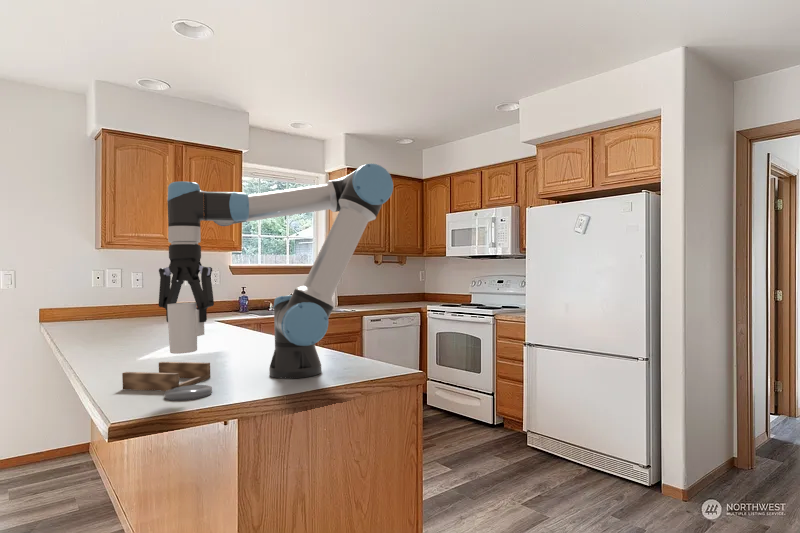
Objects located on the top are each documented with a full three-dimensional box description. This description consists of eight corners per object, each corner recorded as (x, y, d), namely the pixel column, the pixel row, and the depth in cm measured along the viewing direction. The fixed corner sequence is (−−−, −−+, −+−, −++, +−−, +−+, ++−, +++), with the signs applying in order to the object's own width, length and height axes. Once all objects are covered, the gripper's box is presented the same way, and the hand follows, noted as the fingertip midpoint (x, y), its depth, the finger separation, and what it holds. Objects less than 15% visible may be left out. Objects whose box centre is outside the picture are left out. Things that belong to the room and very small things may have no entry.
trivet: (220, 390, 133) (220, 385, 133) (195, 401, 122) (194, 396, 122) (183, 388, 135) (183, 384, 135) (154, 399, 124) (154, 395, 124)
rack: (210, 377, 148) (210, 362, 148) (175, 391, 133) (175, 374, 133) (162, 376, 152) (161, 361, 152) (122, 389, 136) (122, 373, 136)
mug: (193, 353, 124) (191, 303, 124) (164, 354, 123) (162, 305, 123) (205, 346, 134) (203, 301, 134) (179, 348, 133) (177, 302, 133)
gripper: (228, 243, 130) (230, 333, 130) (160, 245, 134) (162, 333, 134) (211, 242, 123) (213, 337, 123) (140, 244, 127) (142, 337, 127)
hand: (186, 335), depth 128 cm, fingers closed on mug, 7 cm apart
